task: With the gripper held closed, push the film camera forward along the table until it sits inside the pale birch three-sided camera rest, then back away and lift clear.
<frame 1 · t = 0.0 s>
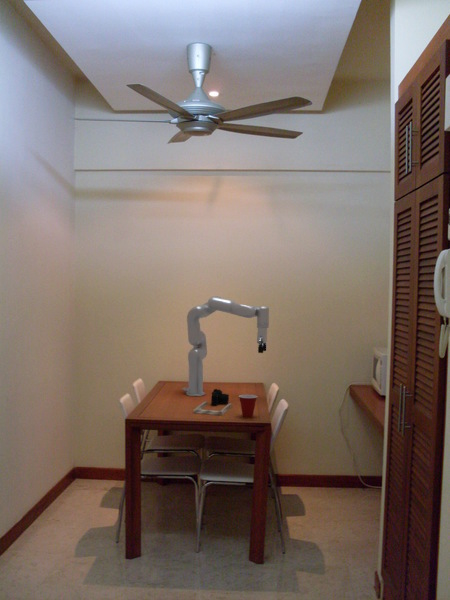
hand: (262, 351, 352), 31 cm above the table, tool pointing down, fingers open, 9 cm apart
camera rest: (213, 409, 325), on the table
film camera: (220, 404, 340), on the table
plastic cup: (247, 416, 311), on the table
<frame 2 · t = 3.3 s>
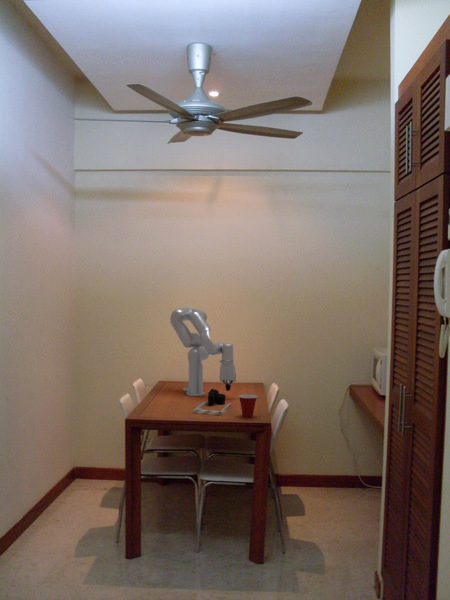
hand: (228, 390, 354), 5 cm above the table, tool pointing down, fingers closed
film camera: (216, 404, 340), on the table
everything else where it was.
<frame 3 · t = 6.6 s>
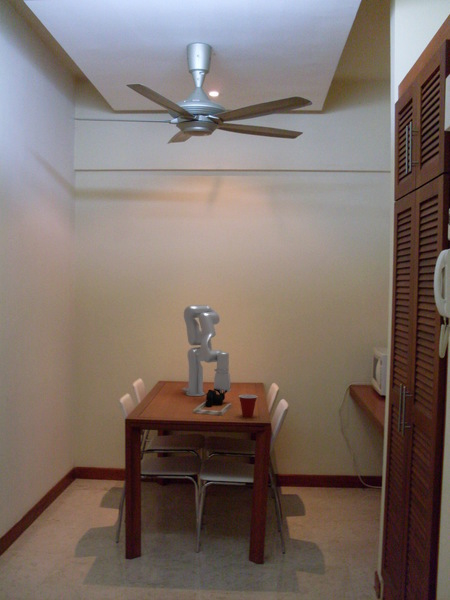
hand: (222, 400, 343), 1 cm above the table, tool pointing down, fingers closed
film camera: (214, 405, 338), on the table
everything else where it was.
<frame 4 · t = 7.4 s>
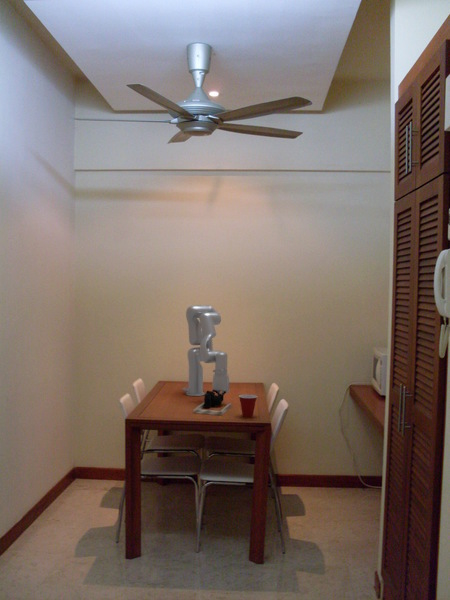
hand: (220, 401, 339), 2 cm above the table, tool pointing down, fingers closed
film camera: (213, 406, 333), on the table, touching gripper
everything else where it was.
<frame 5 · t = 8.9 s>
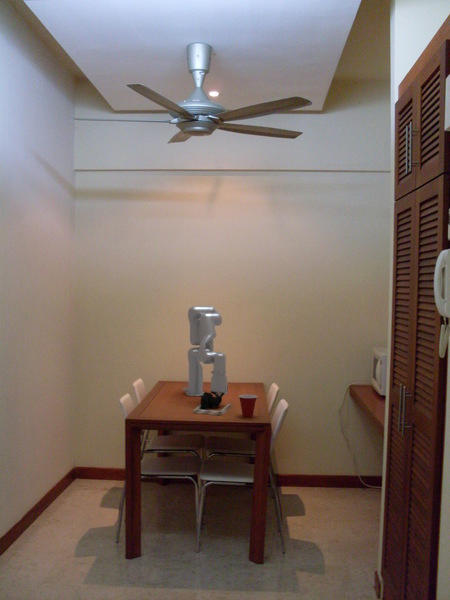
hand: (219, 403, 334), 2 cm above the table, tool pointing down, fingers closed
film camera: (210, 407, 329), on the table, touching camera rest, gripper
everything else where it was.
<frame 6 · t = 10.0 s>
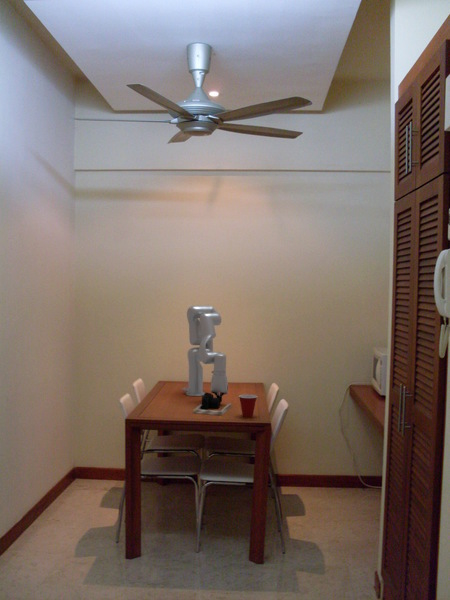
hand: (219, 402, 338), 1 cm above the table, tool pointing down, fingers closed
film camera: (210, 408, 329), on the table
everything else where it was.
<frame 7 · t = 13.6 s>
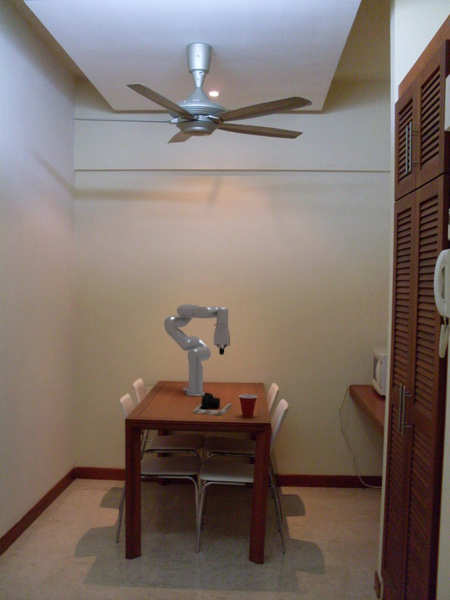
hand: (221, 354, 351), 29 cm above the table, tool pointing down, fingers closed
nothing on the table moved.
at the end: film camera inside the target area (3.8 cm from its centre), on the table; film camera tilted 0° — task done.
